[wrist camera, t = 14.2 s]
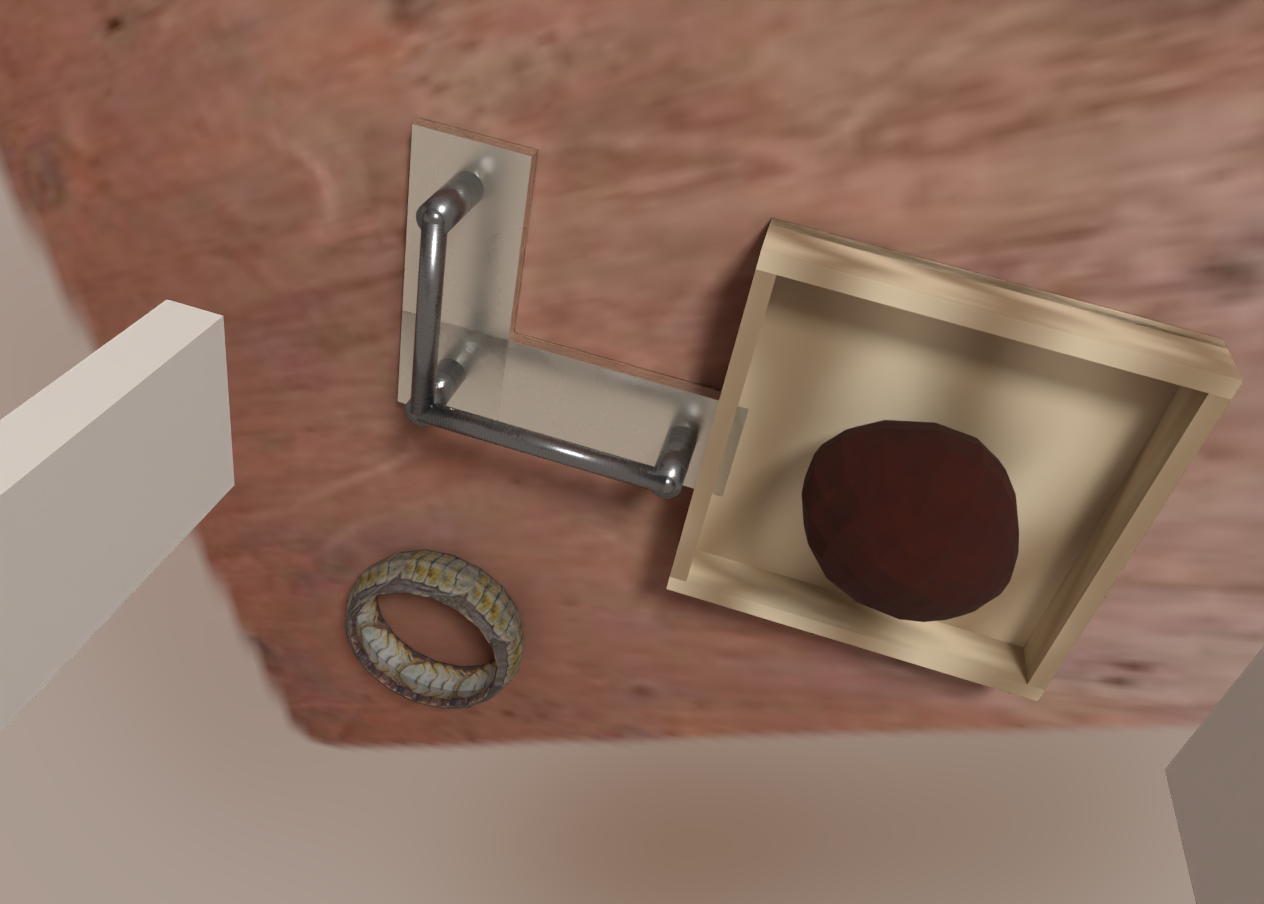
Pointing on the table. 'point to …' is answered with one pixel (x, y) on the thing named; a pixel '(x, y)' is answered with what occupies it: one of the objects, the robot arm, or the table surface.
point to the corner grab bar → (515, 363)
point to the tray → (959, 399)
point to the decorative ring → (455, 589)
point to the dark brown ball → (911, 519)
